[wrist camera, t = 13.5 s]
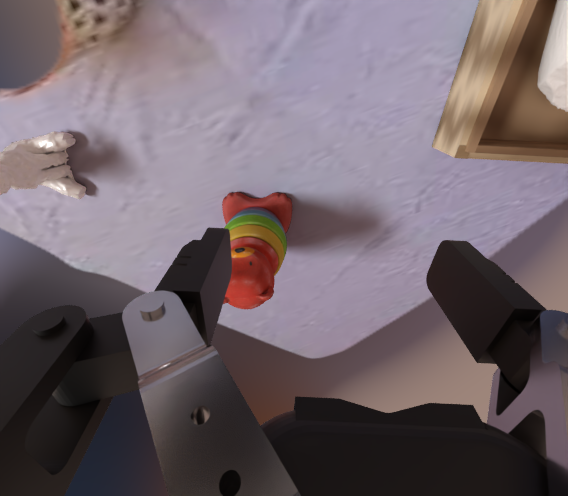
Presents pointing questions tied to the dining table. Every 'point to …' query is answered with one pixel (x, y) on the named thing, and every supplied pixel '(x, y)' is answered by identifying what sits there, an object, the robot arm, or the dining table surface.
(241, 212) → the stacking bear
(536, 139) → the upper crate
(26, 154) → the sitting furry creature
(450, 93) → the box
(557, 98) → the roll
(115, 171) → the dining table surface
